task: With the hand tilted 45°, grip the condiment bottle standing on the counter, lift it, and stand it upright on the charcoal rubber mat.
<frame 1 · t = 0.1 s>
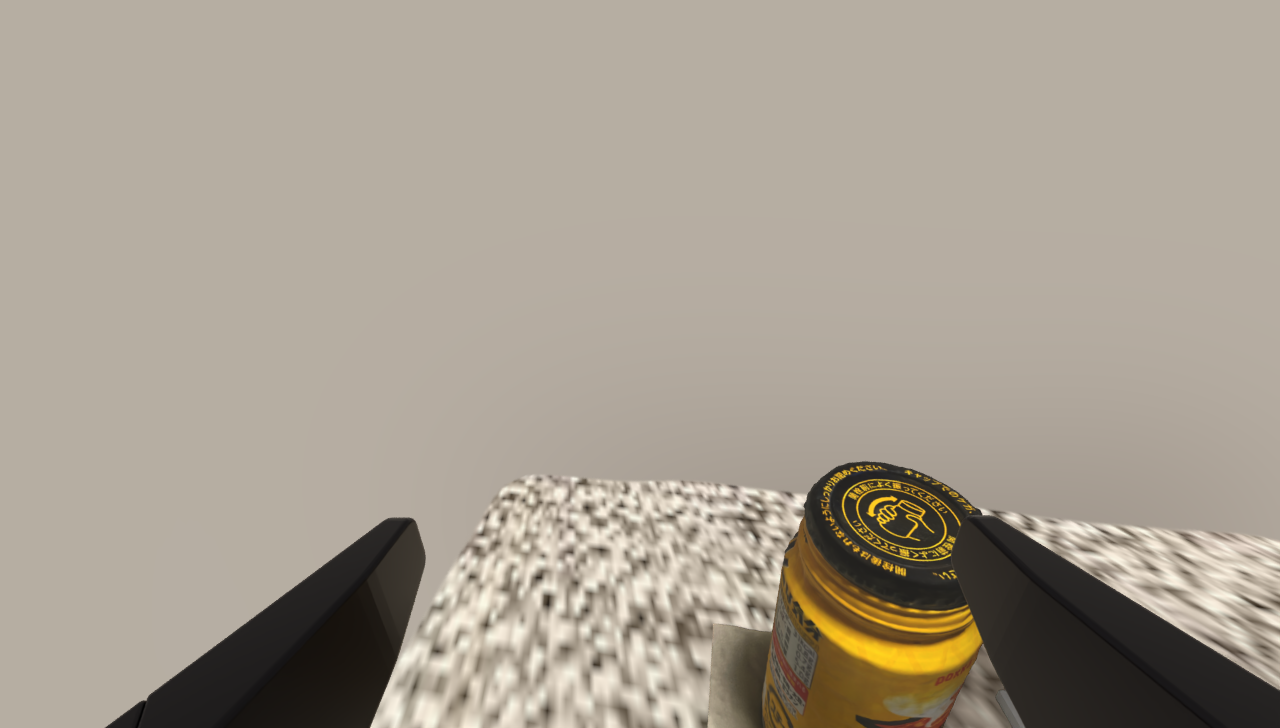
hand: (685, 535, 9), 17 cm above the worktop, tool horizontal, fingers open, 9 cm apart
condiment: (811, 726, 21), on the worktop
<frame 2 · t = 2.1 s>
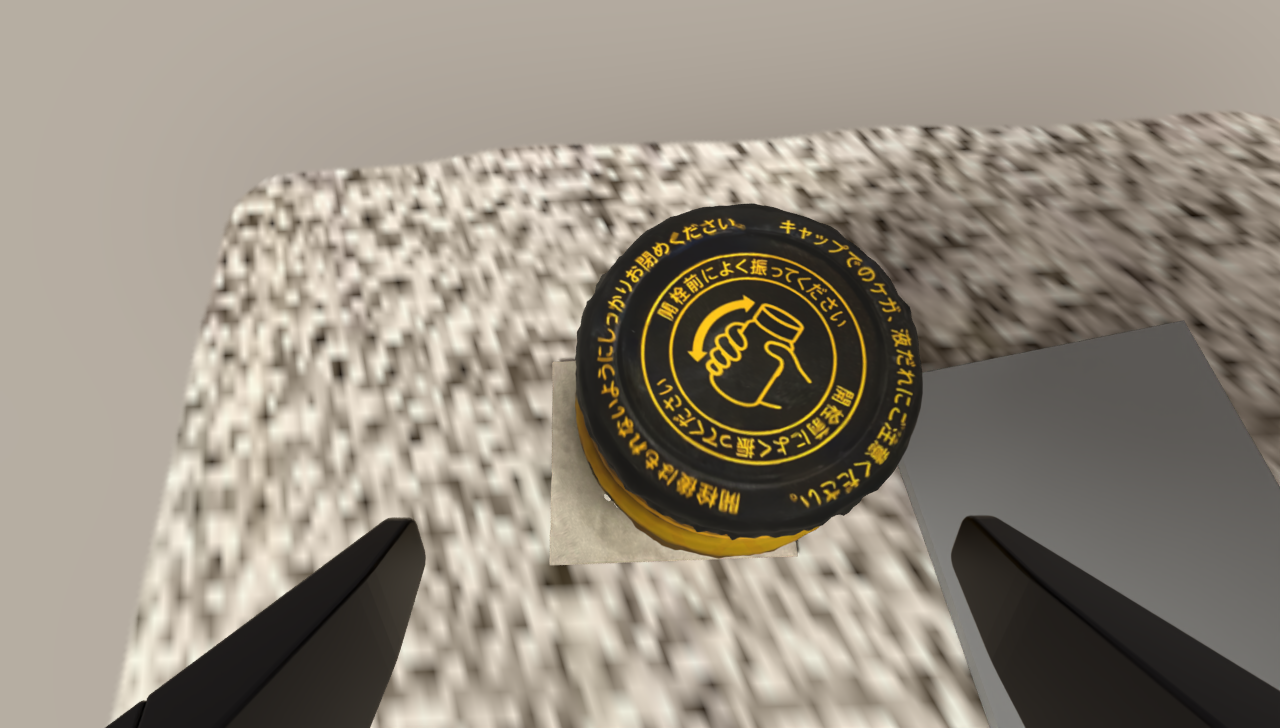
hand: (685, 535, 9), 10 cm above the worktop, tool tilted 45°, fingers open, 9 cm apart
condiment: (667, 455, 19), on the worktop
mat: (1095, 516, 18), on the worktop
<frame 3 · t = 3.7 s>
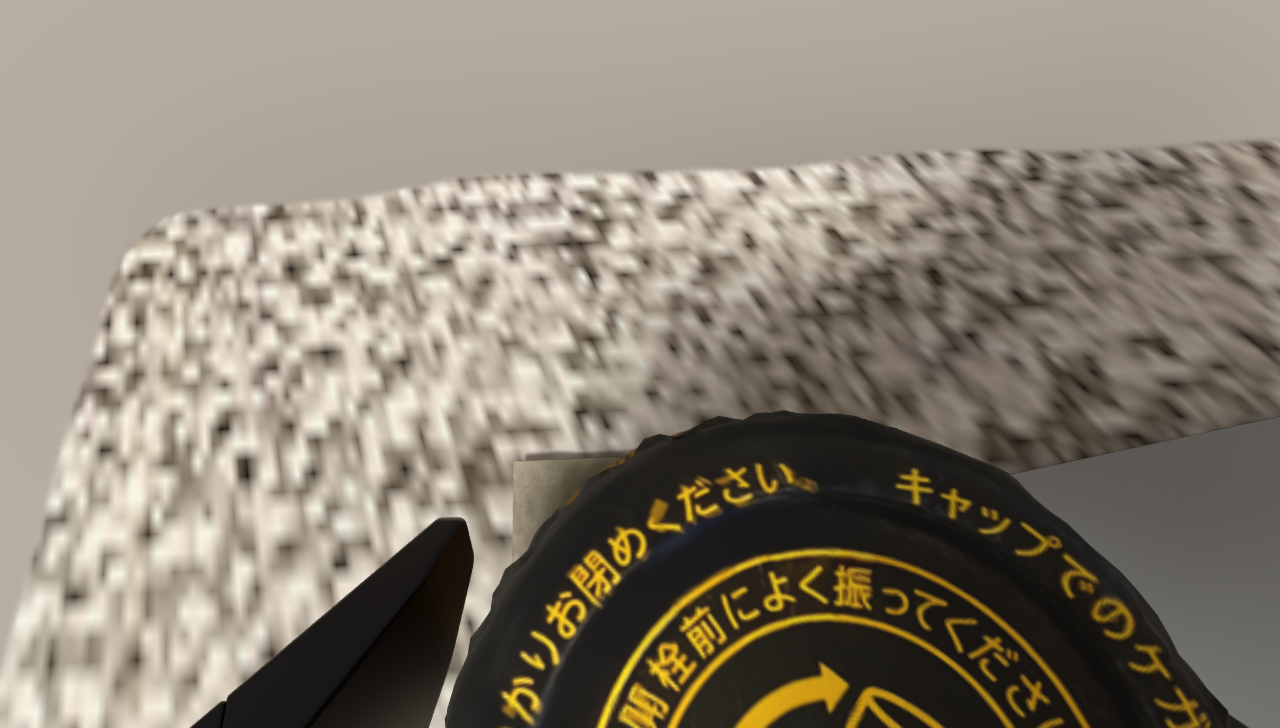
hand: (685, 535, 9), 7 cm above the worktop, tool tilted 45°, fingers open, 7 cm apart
condiment: (663, 585, 15), on the worktop, touching gripper
mat: (1232, 676, 13), on the worktop
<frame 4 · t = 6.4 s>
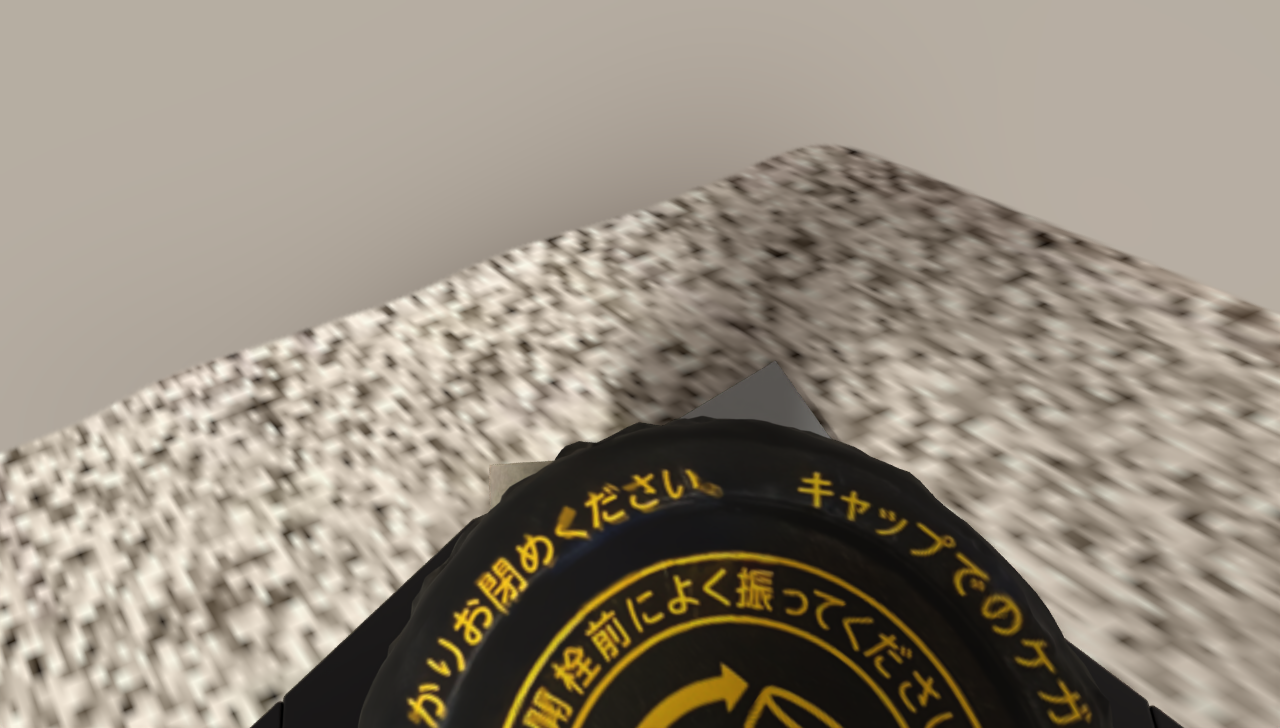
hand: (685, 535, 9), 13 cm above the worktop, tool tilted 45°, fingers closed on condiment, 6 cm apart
condiment: (639, 585, 15), point 6 cm above the worktop, touching gripper
mat: (736, 559, 21), on the worktop
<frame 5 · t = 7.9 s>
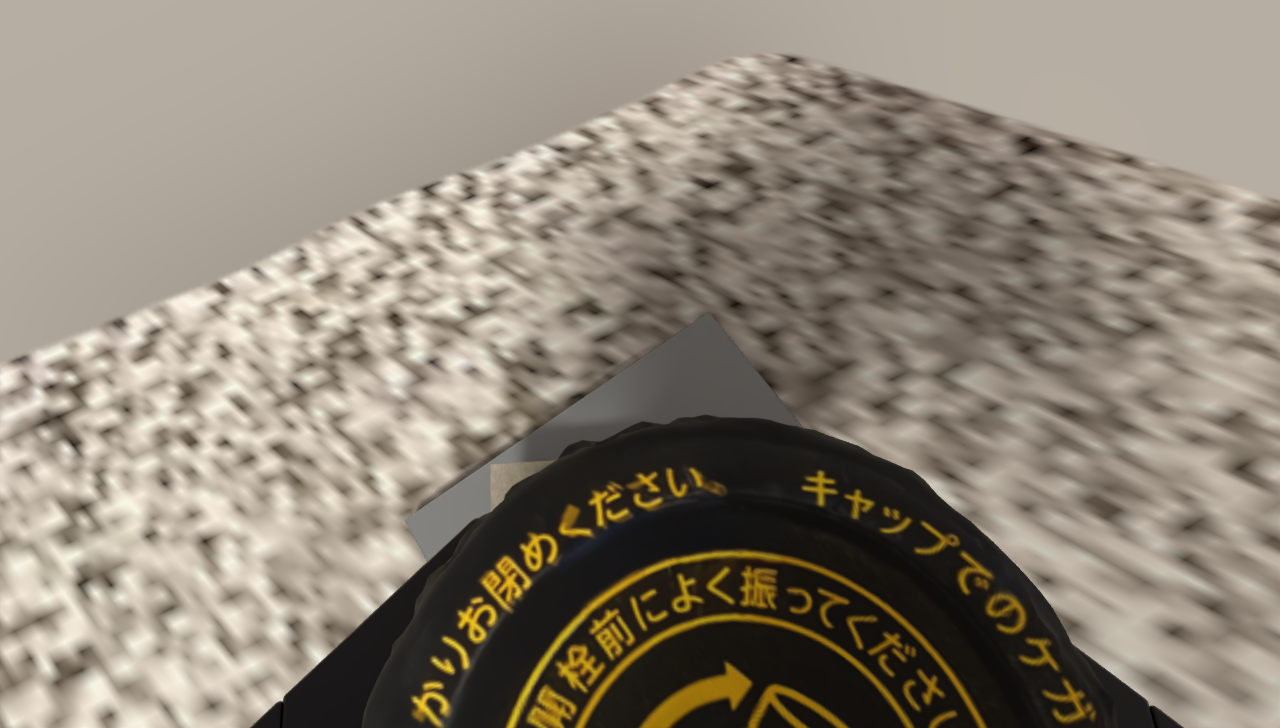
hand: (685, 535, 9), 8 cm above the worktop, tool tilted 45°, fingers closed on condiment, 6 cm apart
condiment: (640, 585, 15), point 1 cm above the worktop, touching gripper
mat: (671, 567, 16), on the worktop
when the fingers open (8 cm above the worktop, at t = 8.7 s): condiment stays where it is, resting on mat.
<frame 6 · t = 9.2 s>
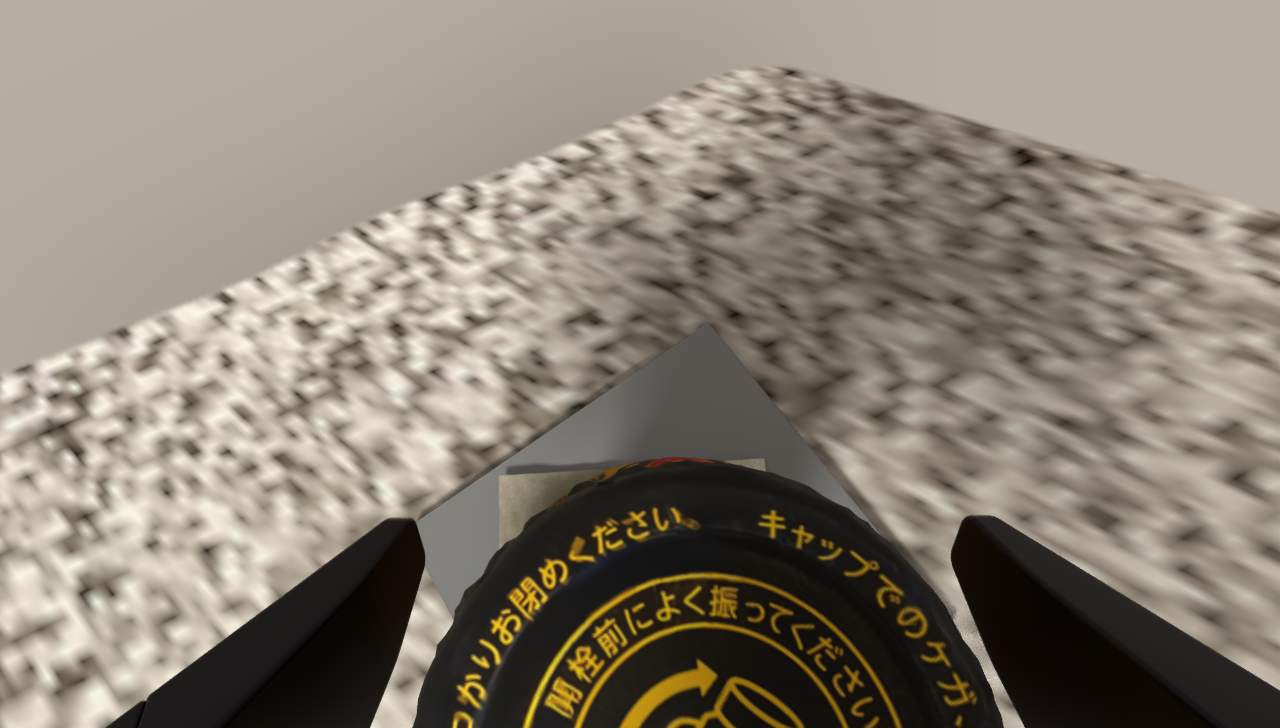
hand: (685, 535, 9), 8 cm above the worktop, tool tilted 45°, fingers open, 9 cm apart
condiment: (639, 589, 16), resting on mat
mat: (671, 577, 16), on the worktop
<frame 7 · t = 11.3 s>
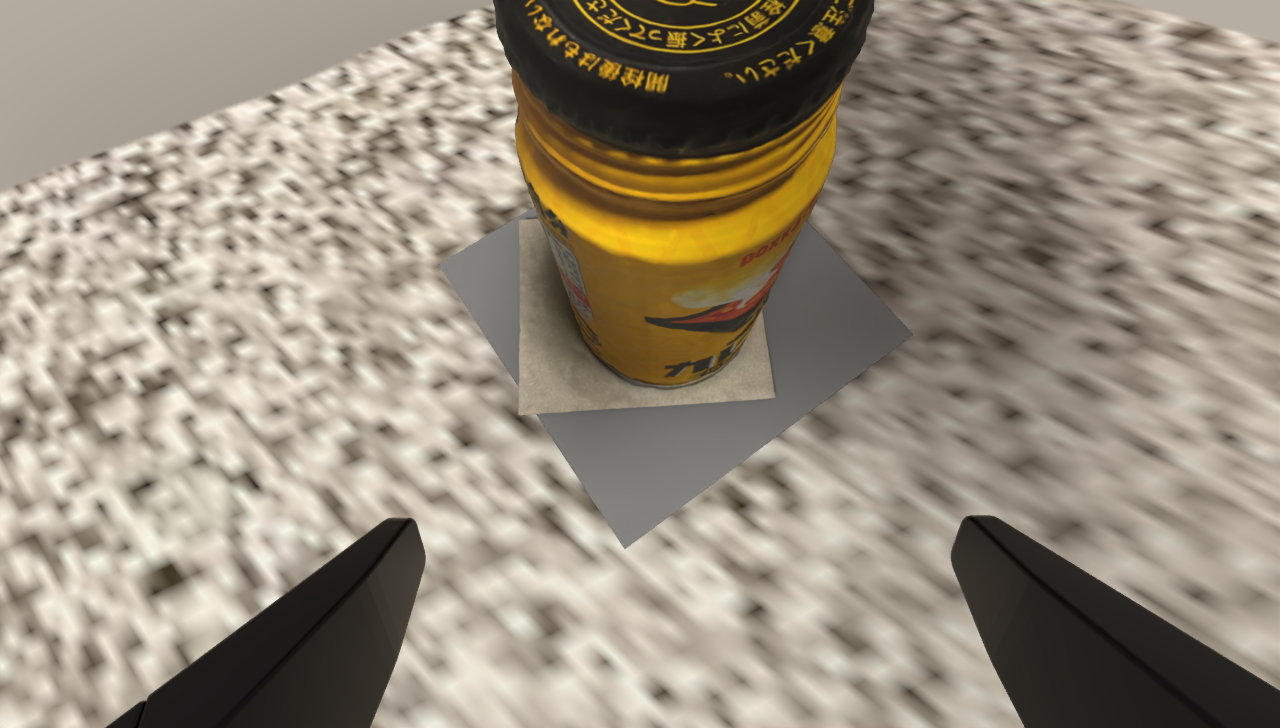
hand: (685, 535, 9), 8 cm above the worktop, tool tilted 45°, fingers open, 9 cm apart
condiment: (640, 309, 18), resting on mat
mat: (667, 304, 19), on the worktop
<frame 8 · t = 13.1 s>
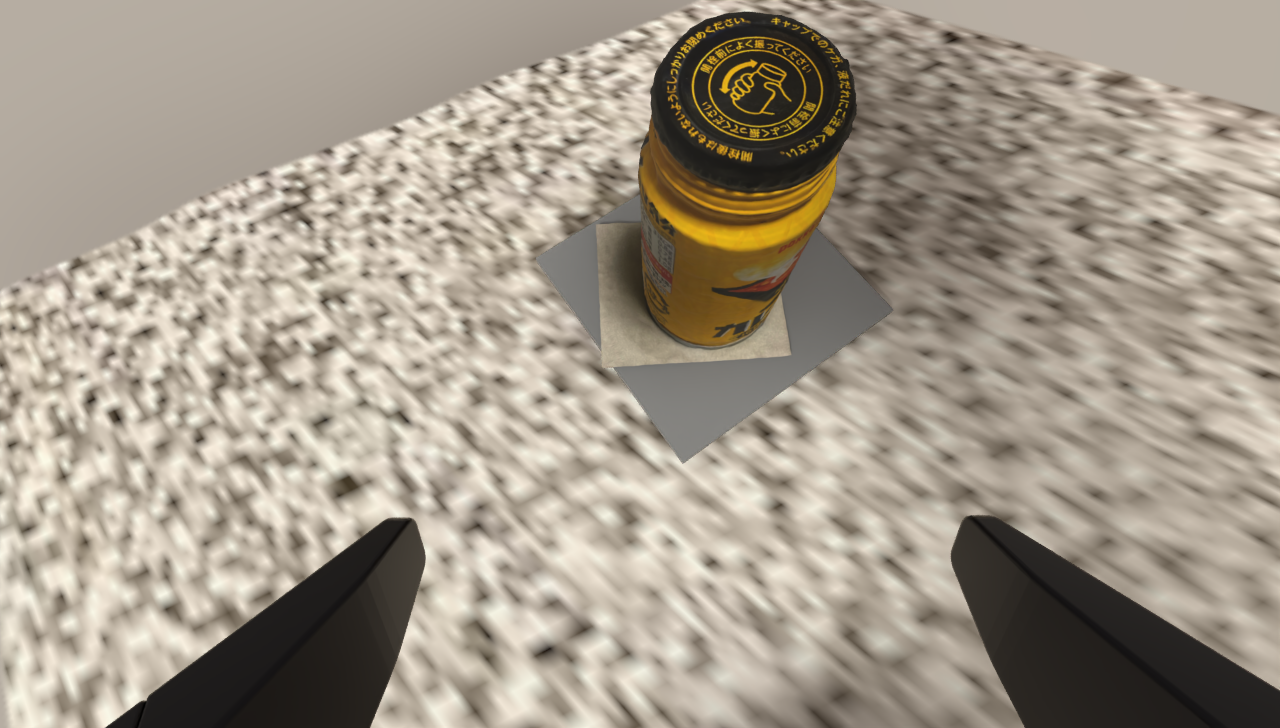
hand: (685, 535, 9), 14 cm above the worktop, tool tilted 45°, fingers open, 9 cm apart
condiment: (688, 291, 24), resting on mat
mat: (708, 288, 25), on the worktop
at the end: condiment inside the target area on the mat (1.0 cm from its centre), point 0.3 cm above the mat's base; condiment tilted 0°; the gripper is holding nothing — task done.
